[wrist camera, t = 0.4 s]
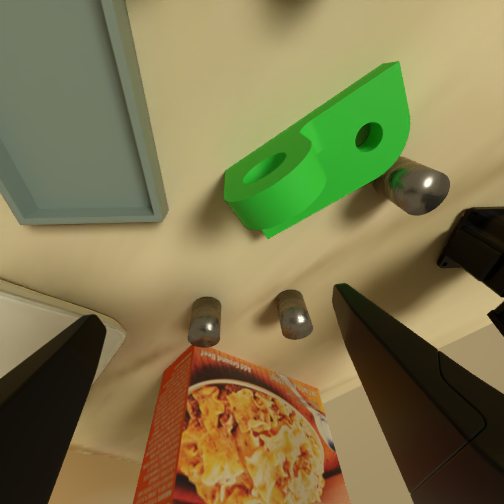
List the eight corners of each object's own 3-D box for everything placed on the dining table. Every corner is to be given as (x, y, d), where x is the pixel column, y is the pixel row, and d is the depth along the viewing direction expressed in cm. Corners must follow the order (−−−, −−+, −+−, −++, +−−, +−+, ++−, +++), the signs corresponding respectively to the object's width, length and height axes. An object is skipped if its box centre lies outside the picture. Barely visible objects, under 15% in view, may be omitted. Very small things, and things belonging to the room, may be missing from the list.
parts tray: (96, -135, 10) (71, -177, 9) (168, 209, 19) (162, 221, 18) (-162, -152, 10) (-242, -201, 8) (38, 212, 19) (20, 225, 17)
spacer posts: (549, -186, 10) (698, -313, 7) (359, 308, 28) (376, 337, 25) (91, -226, 9) (12, -402, 6) (195, 316, 27) (190, 348, 24)
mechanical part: (265, 227, 21) (279, 290, 15) (225, 169, 18) (221, 217, 12) (400, 149, 18) (496, 184, 12) (381, 63, 15) (496, 46, 8)
